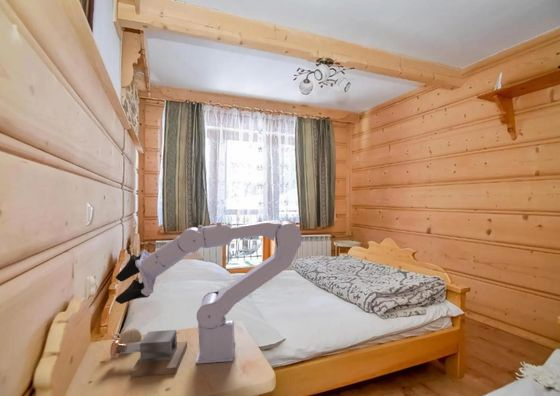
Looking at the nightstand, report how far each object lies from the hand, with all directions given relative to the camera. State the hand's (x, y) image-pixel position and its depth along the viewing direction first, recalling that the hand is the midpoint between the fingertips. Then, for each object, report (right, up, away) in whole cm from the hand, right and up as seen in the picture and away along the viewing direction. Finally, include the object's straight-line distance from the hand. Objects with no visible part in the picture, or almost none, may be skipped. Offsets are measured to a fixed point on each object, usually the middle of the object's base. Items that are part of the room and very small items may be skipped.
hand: (118, 290), depth 77 cm
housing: (+11, -19, +1) cm, 22 cm away
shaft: (+4, -17, 0) cm, 18 cm away
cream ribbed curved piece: (-2, -19, +8) cm, 21 cm away
